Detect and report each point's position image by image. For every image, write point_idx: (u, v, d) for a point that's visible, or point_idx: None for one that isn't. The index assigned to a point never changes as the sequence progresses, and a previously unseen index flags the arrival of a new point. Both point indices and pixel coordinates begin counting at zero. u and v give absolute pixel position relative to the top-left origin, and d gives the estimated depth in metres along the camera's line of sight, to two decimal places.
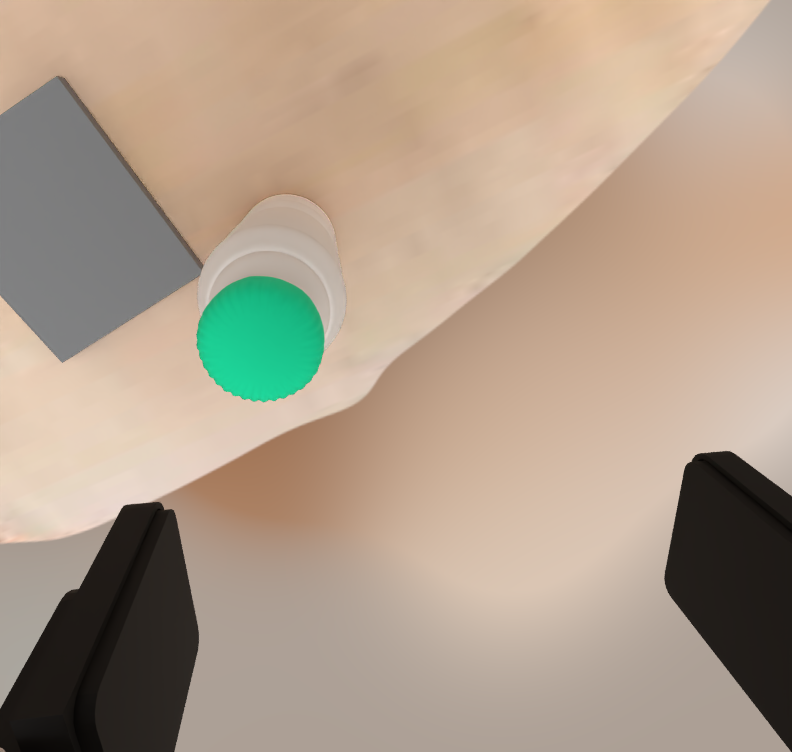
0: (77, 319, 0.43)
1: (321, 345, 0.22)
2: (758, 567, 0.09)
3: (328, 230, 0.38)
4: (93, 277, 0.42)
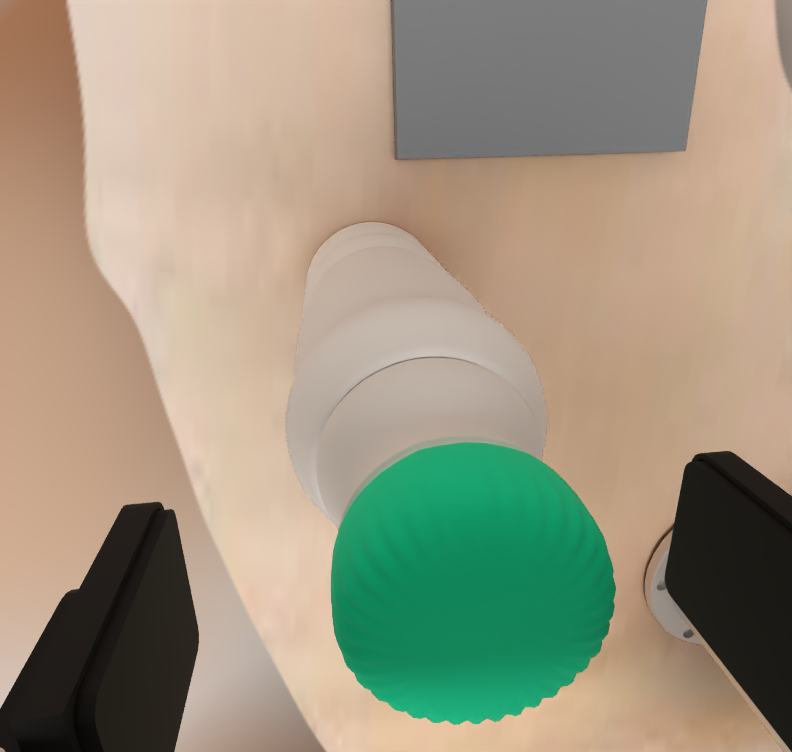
0: None
1: (409, 711, 0.10)
2: (758, 567, 0.09)
3: None
4: (477, 1, 0.27)
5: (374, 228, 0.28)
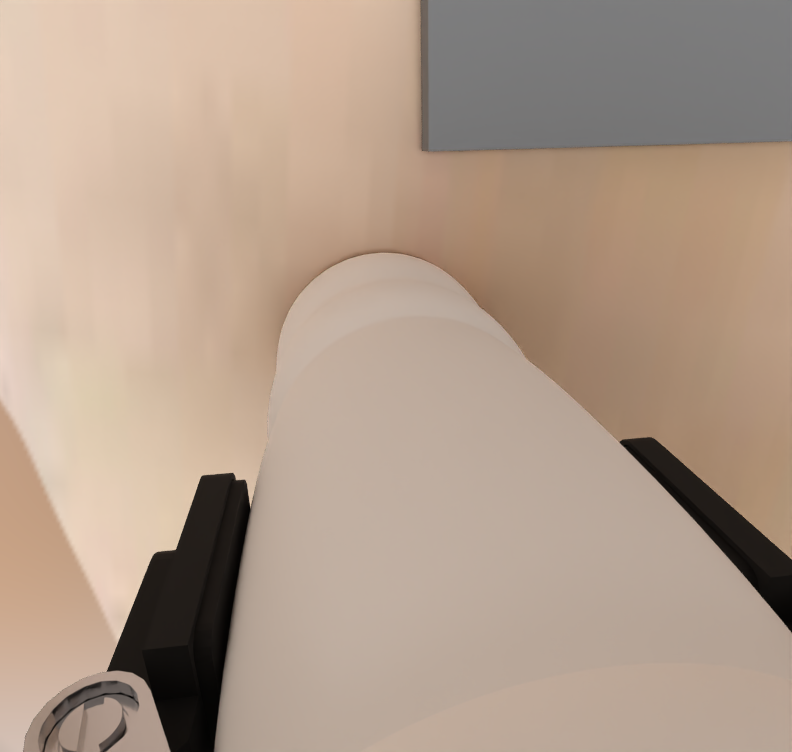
0: None
1: None
2: None
3: None
4: None
5: (391, 268, 0.17)
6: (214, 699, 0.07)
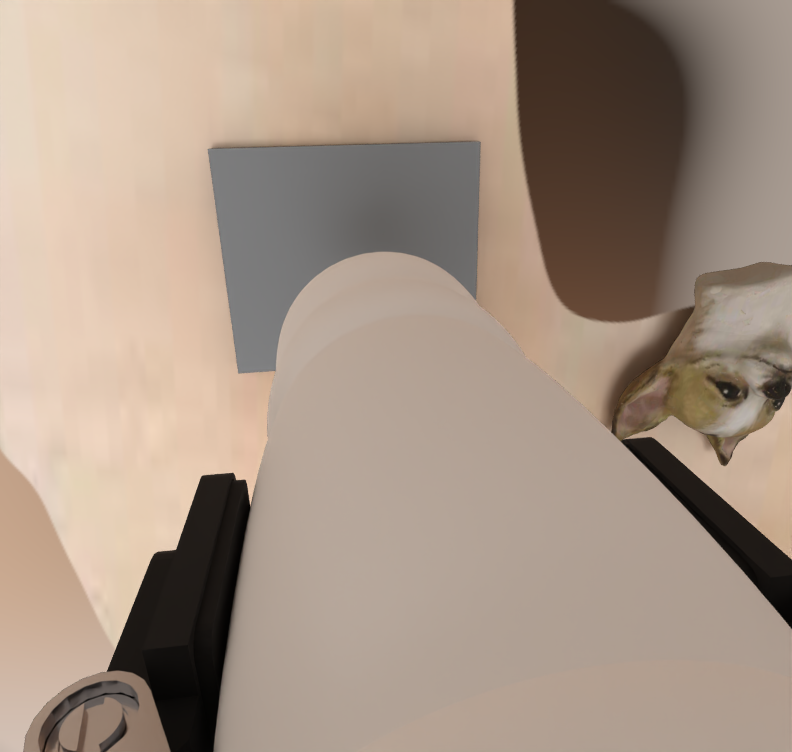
0: (252, 209, 0.33)
1: None
2: None
3: None
4: (290, 262, 0.34)
5: (391, 267, 0.17)
6: (214, 699, 0.07)
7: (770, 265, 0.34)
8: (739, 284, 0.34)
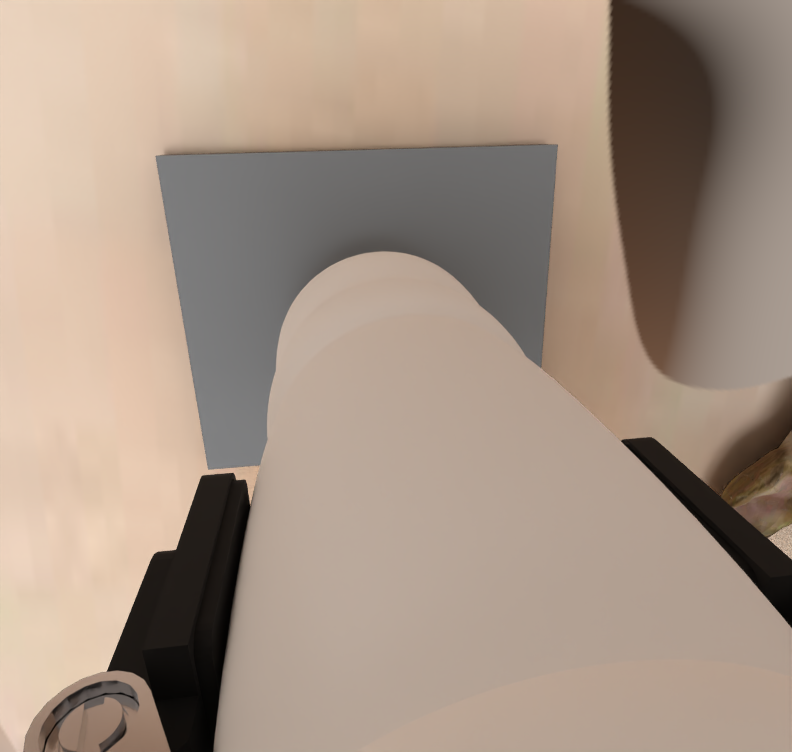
0: (223, 243, 0.22)
1: None
2: None
3: None
4: (281, 318, 0.24)
5: (391, 266, 0.17)
6: (214, 699, 0.07)
7: None
8: None
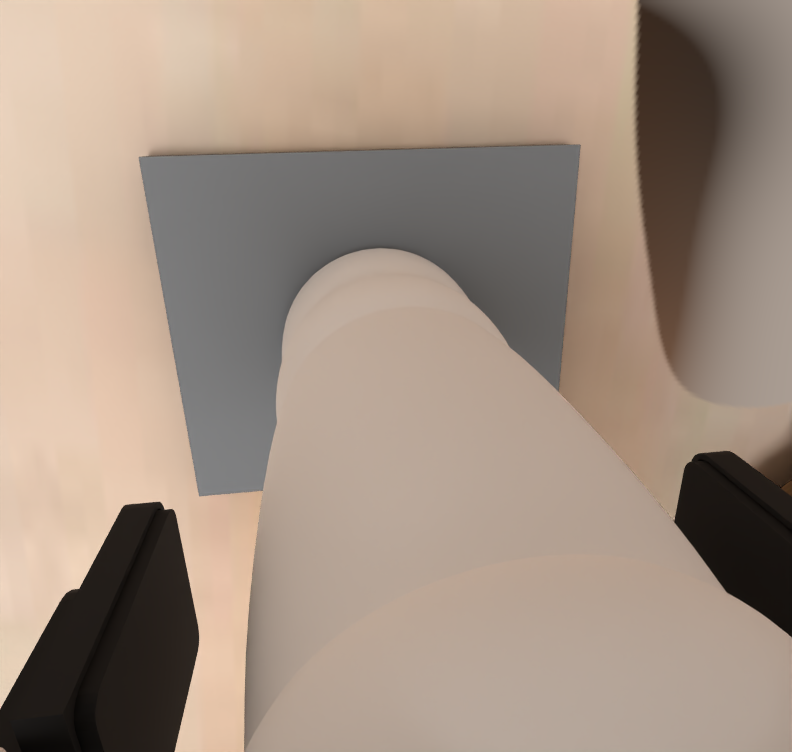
0: (214, 253, 0.20)
1: None
2: (758, 567, 0.09)
3: None
4: (277, 334, 0.22)
5: (386, 263, 0.18)
6: None
7: None
8: None
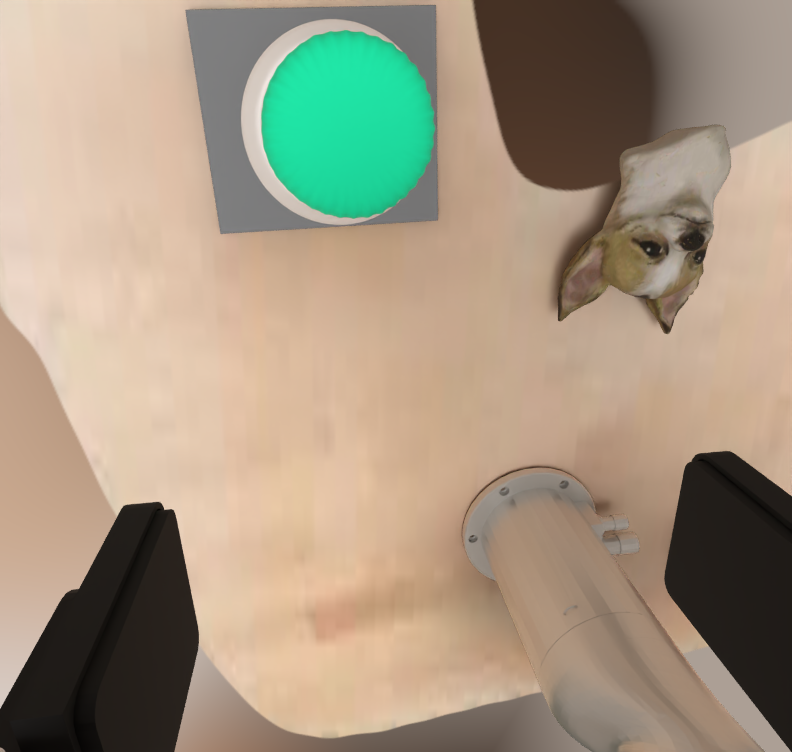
0: (228, 70, 0.36)
1: (313, 206, 0.16)
2: (758, 567, 0.09)
3: None
4: None
5: None
6: None
7: (680, 130, 0.38)
8: (653, 149, 0.38)
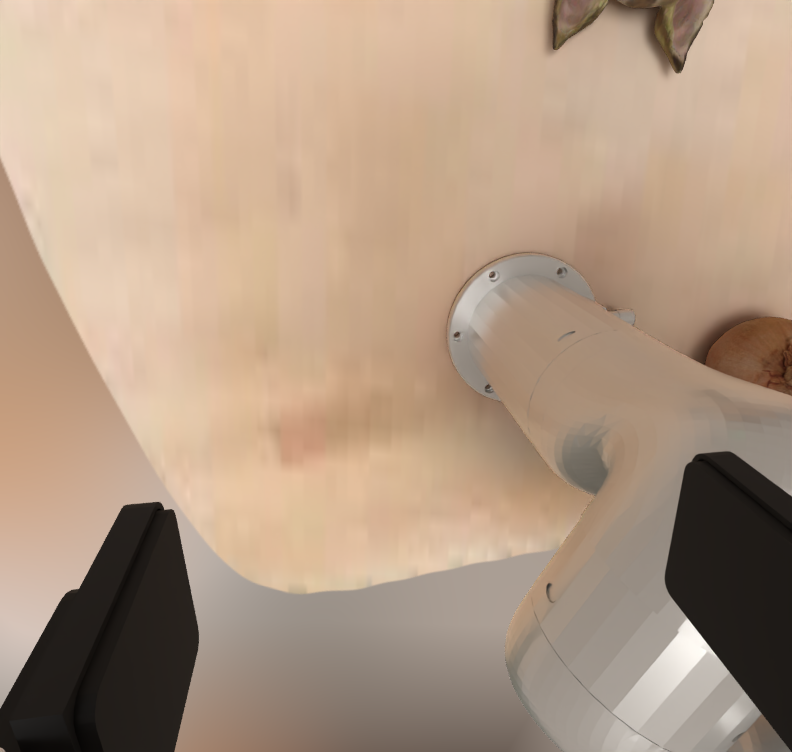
0: None
1: None
2: (758, 567, 0.09)
3: None
4: None
5: None
6: None
7: None
8: None
